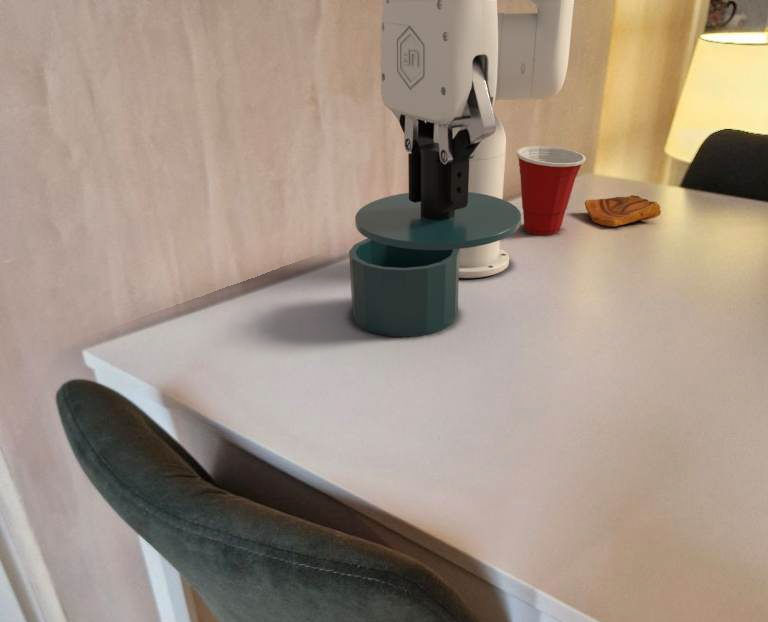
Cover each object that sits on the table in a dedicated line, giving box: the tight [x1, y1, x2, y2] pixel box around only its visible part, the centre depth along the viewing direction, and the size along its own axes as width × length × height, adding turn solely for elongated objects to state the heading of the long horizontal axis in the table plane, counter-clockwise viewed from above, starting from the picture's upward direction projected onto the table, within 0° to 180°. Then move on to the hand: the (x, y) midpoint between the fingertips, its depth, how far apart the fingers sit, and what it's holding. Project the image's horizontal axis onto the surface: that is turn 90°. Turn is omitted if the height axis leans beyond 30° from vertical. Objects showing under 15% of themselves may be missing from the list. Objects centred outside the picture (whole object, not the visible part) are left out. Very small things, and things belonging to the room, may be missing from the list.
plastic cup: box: [516, 145, 587, 236], centre depth 123 cm, size 11×11×12 cm
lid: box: [354, 143, 522, 250], centre depth 66 cm, size 15×15×7 cm
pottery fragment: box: [584, 194, 662, 228], centre depth 129 cm, size 10×5×10 cm
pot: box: [348, 238, 460, 338], centre depth 98 cm, size 14×14×8 cm
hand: (437, 202), depth 67 cm, fingers closed on lid, 3 cm apart
